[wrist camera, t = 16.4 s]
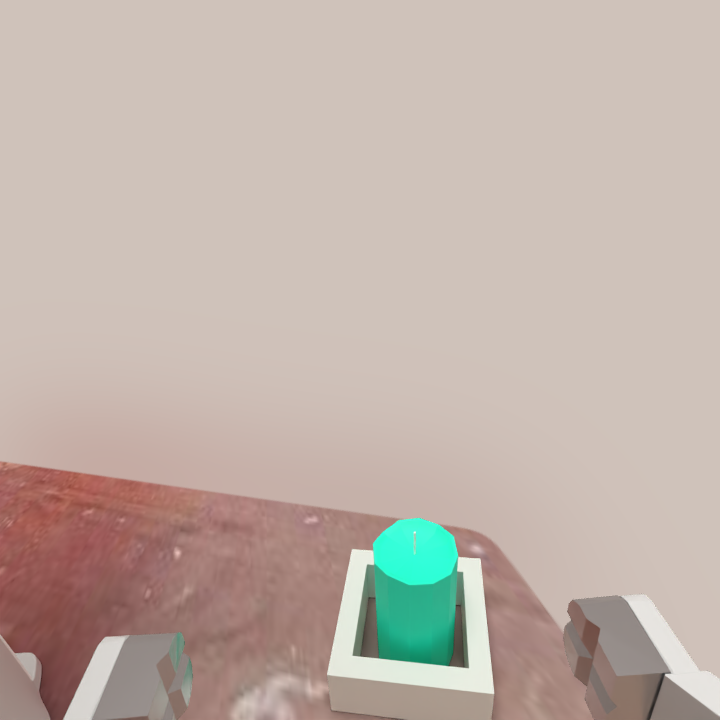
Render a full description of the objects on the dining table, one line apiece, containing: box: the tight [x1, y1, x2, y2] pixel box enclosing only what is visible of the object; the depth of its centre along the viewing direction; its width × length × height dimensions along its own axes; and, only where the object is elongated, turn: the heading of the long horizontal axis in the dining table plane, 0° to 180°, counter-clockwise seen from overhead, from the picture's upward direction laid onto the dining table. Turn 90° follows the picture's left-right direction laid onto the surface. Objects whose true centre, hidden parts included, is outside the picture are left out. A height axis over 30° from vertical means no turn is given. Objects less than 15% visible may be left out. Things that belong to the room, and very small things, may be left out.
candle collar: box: [327, 549, 494, 720], centre depth 38 cm, size 11×11×4 cm
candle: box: [373, 518, 458, 666], centre depth 36 cm, size 6×6×12 cm
